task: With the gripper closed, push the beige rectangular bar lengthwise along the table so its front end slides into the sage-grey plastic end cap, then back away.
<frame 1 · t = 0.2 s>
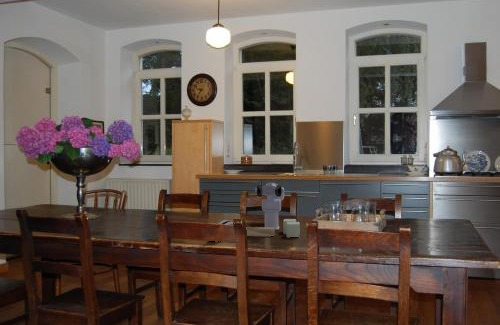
hand: (267, 191, 236), 21 cm above the table, tool horizontal, fingers open, 7 cm apart
beige rectangular bar: (260, 236, 235), on the table
pale green block: (289, 232, 243), on the table
end cap: (293, 236, 233), on the table
hinge: (222, 240, 224), on the table
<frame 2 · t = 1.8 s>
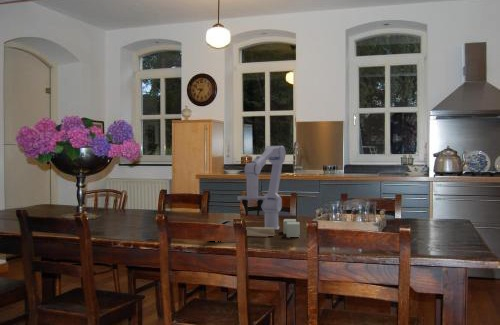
hand: (252, 215, 238), 9 cm above the table, tool pointing down, fingers open, 5 cm apart
nothing on the table moved.
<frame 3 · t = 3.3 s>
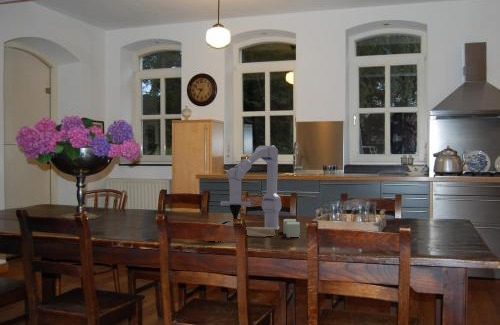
hand: (235, 220, 236), 7 cm above the table, tool pointing down, fingers closed
nothing on the table moved.
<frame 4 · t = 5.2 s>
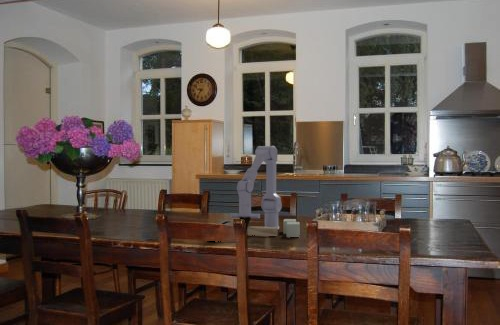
hand: (245, 232, 236), 1 cm above the table, tool pointing down, fingers closed
beige rectangular bar: (262, 235, 235), on the table, touching gripper
everything else where it was.
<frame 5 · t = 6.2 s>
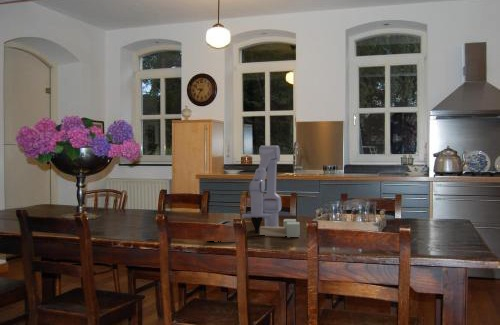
hand: (256, 233, 235), 1 cm above the table, tool pointing down, fingers closed
beige rectangular bar: (274, 235, 235), on the table, touching gripper
everything else where it was.
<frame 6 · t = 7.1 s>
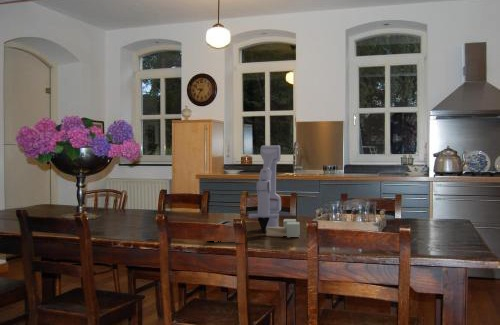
hand: (263, 233, 235), 1 cm above the table, tool pointing down, fingers closed
beige rectangular bar: (281, 235, 234), on the table, touching gripper
everything else where it was.
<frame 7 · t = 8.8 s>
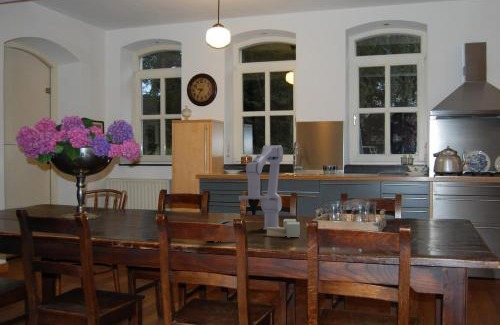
hand: (253, 215, 235), 10 cm above the table, tool pointing down, fingers closed
beige rectangular bar: (281, 236, 234), on the table
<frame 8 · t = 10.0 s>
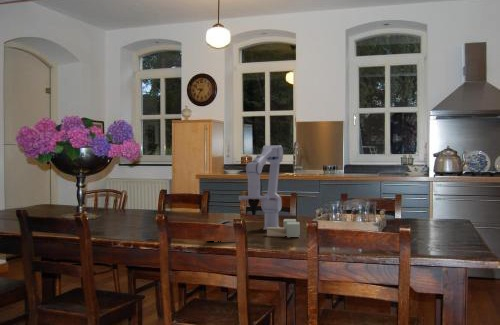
hand: (253, 215, 235), 10 cm above the table, tool pointing down, fingers closed
at the end: beige rectangular bar 1.4 cm from the target spot, on the table; beige rectangular bar tilted 0°; the gripper is holding nothing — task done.
